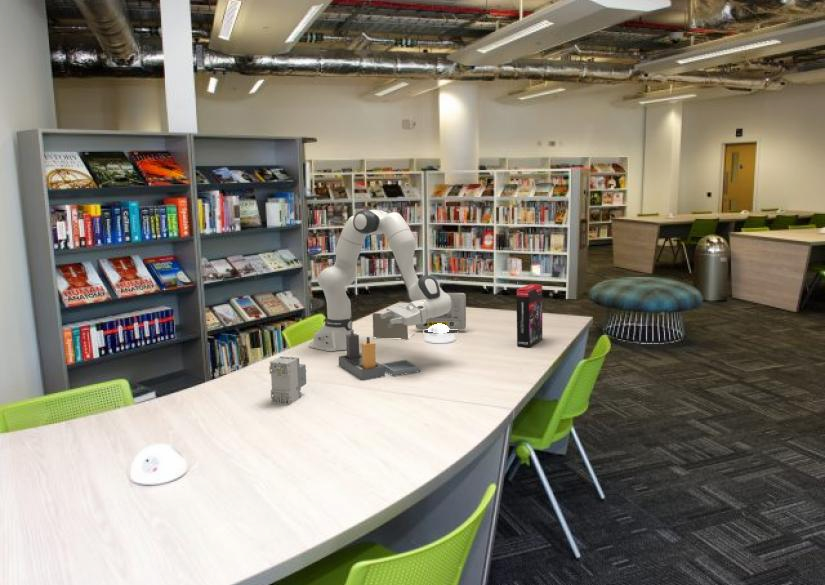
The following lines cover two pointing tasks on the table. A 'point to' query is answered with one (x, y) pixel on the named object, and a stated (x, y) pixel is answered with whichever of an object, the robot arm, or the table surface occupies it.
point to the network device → (451, 314)
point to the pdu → (357, 370)
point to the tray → (400, 367)
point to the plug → (368, 354)
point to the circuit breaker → (286, 379)
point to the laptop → (388, 328)
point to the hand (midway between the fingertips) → (385, 319)
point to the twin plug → (352, 345)
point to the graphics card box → (529, 315)
